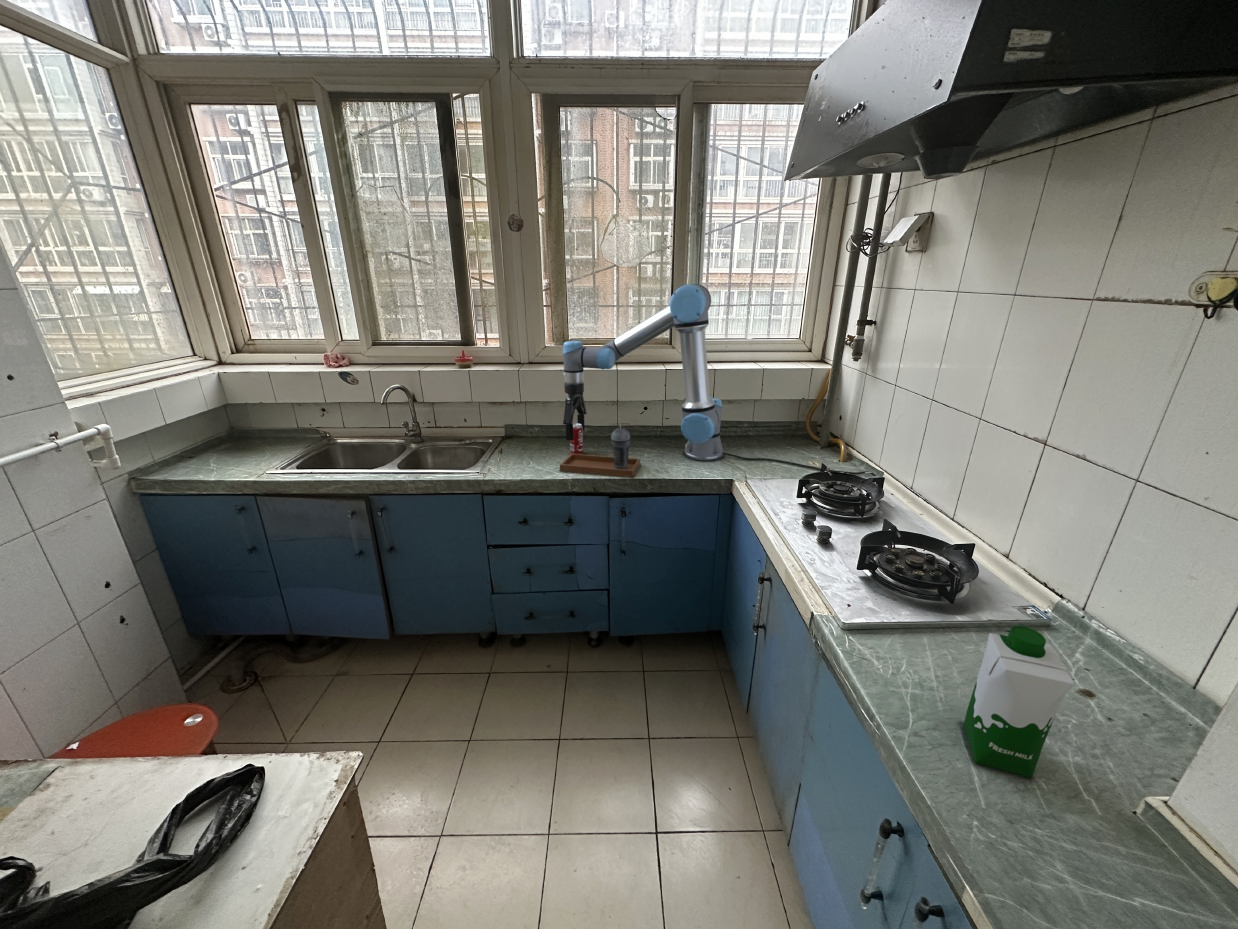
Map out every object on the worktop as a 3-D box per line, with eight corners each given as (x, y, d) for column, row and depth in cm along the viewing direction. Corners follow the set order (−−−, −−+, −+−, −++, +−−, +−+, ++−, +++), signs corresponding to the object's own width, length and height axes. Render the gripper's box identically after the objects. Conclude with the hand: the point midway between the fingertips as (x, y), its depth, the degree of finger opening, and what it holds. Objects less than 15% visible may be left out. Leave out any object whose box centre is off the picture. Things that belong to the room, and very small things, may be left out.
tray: (640, 465, 189) (640, 458, 188) (632, 477, 177) (632, 471, 176) (571, 459, 195) (571, 453, 194) (560, 471, 184) (559, 464, 183)
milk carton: (1020, 735, 78) (1059, 631, 71) (1042, 787, 70) (1089, 676, 63) (955, 719, 81) (986, 617, 74) (969, 767, 73) (1006, 659, 66)
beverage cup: (631, 465, 187) (631, 413, 180) (630, 472, 180) (629, 419, 173) (612, 464, 188) (611, 413, 181) (610, 471, 181) (609, 418, 174)
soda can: (581, 450, 205) (580, 422, 201) (584, 454, 200) (583, 426, 196) (569, 452, 203) (568, 423, 199) (572, 456, 199) (571, 427, 194)
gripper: (575, 375, 204) (577, 425, 211) (552, 388, 181) (555, 444, 189) (593, 376, 202) (594, 426, 209) (572, 389, 179) (574, 445, 187)
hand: (575, 435), depth 199 cm, fingers open, 13 cm apart
